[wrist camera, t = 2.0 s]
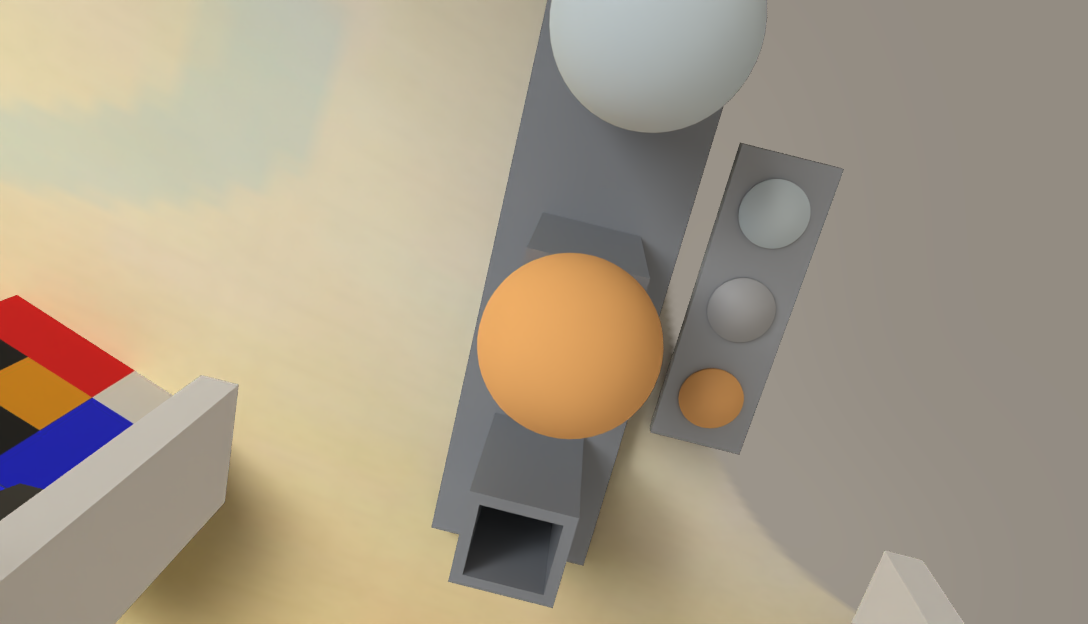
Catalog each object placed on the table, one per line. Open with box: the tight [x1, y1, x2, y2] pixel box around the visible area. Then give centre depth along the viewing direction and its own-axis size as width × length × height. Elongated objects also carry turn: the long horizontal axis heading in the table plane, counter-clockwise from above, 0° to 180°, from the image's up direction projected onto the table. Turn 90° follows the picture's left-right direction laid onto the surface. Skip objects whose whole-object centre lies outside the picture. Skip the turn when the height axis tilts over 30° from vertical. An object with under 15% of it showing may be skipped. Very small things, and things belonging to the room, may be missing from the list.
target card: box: [650, 143, 844, 454], centre depth 33 cm, size 14×4×1 cm, turn 167°
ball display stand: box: [432, 0, 723, 608], centre depth 30 cm, size 30×8×8 cm, turn 167°
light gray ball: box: [549, 0, 767, 133], centre depth 21 cm, size 6×6×6 cm
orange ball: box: [477, 253, 663, 439], centre depth 24 cm, size 6×6×6 cm
